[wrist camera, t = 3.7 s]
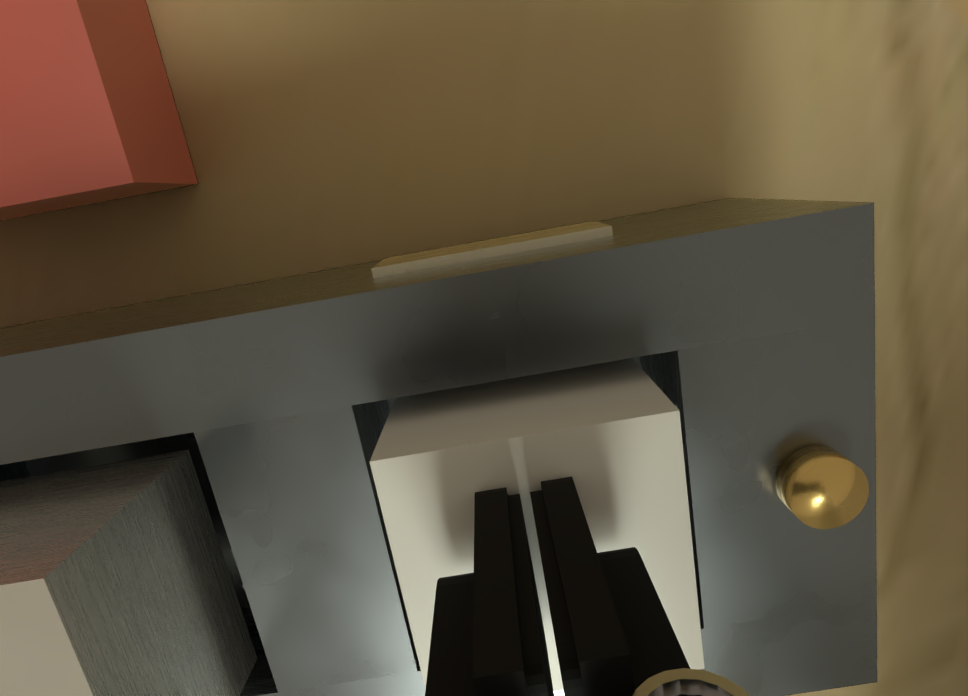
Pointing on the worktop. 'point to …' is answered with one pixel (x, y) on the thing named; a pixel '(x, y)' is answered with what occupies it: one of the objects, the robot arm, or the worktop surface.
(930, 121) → the worktop surface
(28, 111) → the cap
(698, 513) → the panel
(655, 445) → the button
